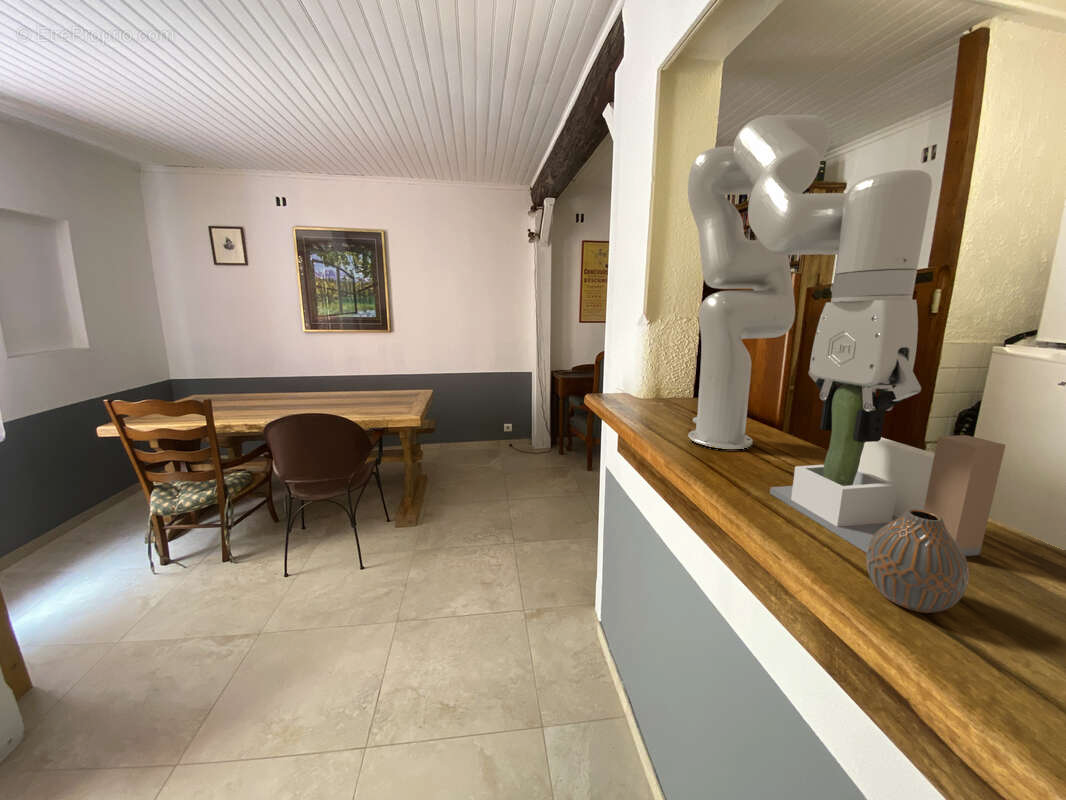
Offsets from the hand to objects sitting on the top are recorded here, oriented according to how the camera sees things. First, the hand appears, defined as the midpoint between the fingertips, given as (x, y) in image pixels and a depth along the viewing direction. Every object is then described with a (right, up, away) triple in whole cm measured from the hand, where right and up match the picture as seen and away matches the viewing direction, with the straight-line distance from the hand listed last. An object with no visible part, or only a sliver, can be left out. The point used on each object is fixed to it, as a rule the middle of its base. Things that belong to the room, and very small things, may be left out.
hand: (848, 433), depth 51 cm
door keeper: (+2, -12, +1) cm, 12 cm away
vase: (-5, -15, -13) cm, 20 cm away
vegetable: (0, -9, +2) cm, 10 cm away
